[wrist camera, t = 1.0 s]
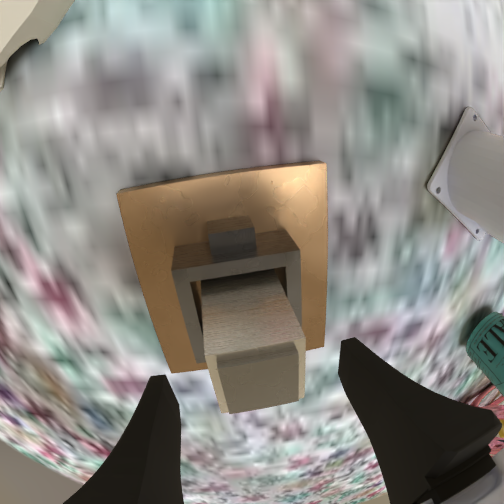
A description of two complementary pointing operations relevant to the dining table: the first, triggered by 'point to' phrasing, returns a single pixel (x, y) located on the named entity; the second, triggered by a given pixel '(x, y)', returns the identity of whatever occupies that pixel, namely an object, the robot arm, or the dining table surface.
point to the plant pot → (502, 429)
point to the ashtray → (27, 24)
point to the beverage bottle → (489, 348)
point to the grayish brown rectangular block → (252, 342)
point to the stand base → (228, 246)
